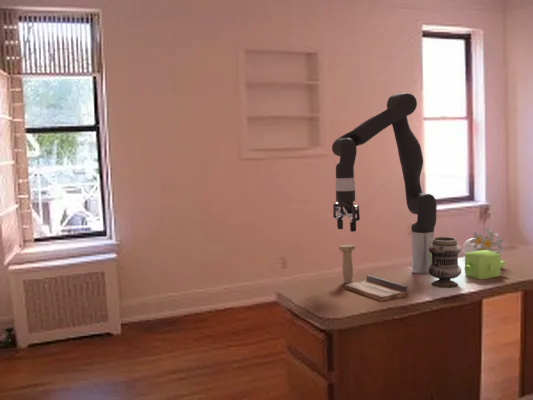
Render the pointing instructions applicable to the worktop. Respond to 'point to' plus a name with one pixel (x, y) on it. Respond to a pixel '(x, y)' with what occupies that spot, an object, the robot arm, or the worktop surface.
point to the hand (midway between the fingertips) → (346, 230)
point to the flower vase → (482, 242)
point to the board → (378, 288)
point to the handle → (347, 262)
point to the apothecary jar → (444, 261)
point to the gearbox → (483, 264)
